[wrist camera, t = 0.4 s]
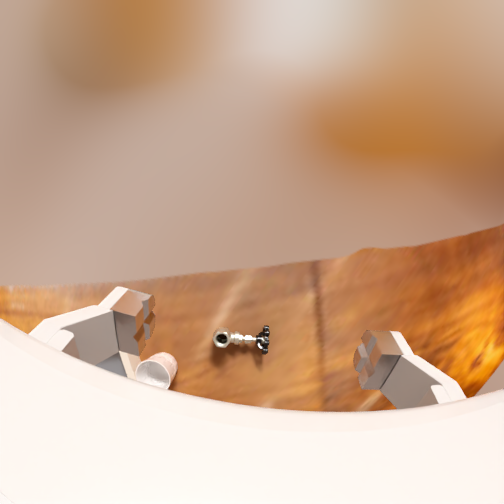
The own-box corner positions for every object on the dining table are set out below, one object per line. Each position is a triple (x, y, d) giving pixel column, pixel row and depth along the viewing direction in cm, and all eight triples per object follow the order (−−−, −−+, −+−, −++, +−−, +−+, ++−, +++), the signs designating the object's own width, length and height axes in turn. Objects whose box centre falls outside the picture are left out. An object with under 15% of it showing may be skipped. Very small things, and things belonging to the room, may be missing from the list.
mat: (139, 384, 58) (139, 384, 58) (94, 388, 57) (93, 388, 57) (125, 339, 59) (124, 340, 59) (80, 347, 58) (79, 347, 58)
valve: (213, 346, 60) (264, 350, 61) (210, 353, 54) (267, 358, 54) (215, 319, 61) (267, 323, 61) (212, 323, 55) (270, 328, 55)
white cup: (148, 375, 58) (134, 388, 49) (151, 346, 59) (136, 355, 50) (178, 383, 59) (168, 398, 49) (182, 354, 60) (172, 365, 50)
